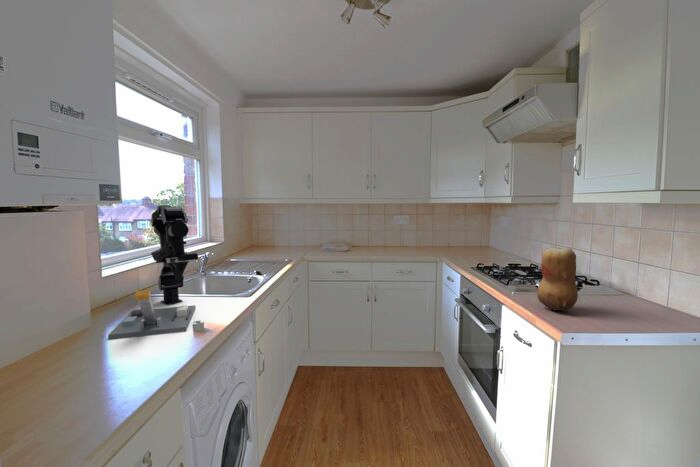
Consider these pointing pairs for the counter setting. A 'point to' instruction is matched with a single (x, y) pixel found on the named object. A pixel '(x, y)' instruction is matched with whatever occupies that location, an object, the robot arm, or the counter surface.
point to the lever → (146, 307)
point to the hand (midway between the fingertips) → (178, 280)
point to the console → (165, 324)
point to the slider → (182, 312)
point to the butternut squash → (558, 279)
